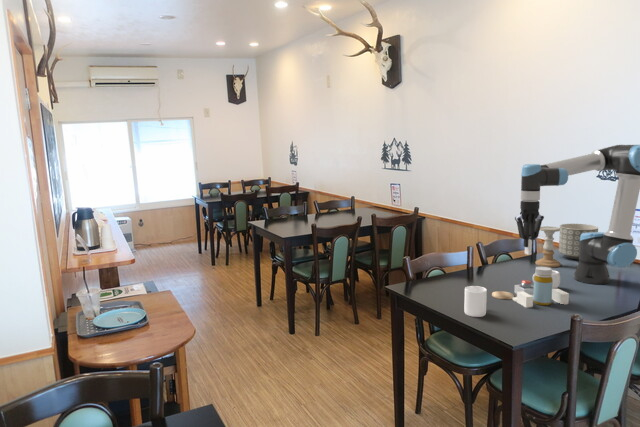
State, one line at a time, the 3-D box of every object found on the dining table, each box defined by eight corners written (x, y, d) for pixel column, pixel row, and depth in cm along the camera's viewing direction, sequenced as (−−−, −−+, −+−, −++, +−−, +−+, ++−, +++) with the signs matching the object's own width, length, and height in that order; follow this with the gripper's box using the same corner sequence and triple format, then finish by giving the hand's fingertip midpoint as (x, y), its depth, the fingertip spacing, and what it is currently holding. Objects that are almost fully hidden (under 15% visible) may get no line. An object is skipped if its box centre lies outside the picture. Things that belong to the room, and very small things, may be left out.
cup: (460, 314, 195) (461, 289, 193) (473, 306, 203) (474, 282, 202) (480, 318, 189) (481, 293, 188) (493, 310, 198) (493, 286, 196)
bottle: (553, 306, 201) (555, 270, 198) (535, 305, 202) (536, 270, 200) (549, 300, 207) (550, 266, 205) (531, 300, 209) (532, 265, 207)
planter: (564, 262, 269) (566, 229, 266) (554, 253, 287) (555, 223, 285) (601, 262, 266) (604, 229, 263) (588, 254, 284) (590, 223, 282)
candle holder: (564, 267, 258) (566, 229, 255) (541, 267, 258) (542, 230, 255) (554, 261, 270) (555, 225, 267) (531, 262, 270) (533, 226, 267)
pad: (506, 292, 220) (507, 290, 220) (517, 298, 211) (518, 296, 211) (488, 293, 219) (488, 292, 218) (498, 300, 210) (498, 298, 210)
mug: (562, 287, 224) (563, 271, 223) (556, 292, 218) (557, 275, 217) (535, 283, 233) (536, 267, 231) (528, 287, 226) (529, 270, 225)
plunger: (527, 289, 218) (528, 279, 218) (532, 292, 215) (533, 282, 214) (519, 290, 218) (519, 280, 217) (524, 292, 214) (524, 282, 213)
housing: (541, 290, 221) (541, 280, 221) (568, 304, 203) (568, 293, 202) (501, 293, 218) (502, 283, 218) (525, 307, 200) (526, 297, 199)
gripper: (537, 198, 215) (535, 251, 218) (511, 200, 212) (509, 253, 216) (549, 200, 207) (546, 254, 211) (521, 202, 205) (519, 257, 208)
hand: (528, 254), depth 213 cm, fingers closed
